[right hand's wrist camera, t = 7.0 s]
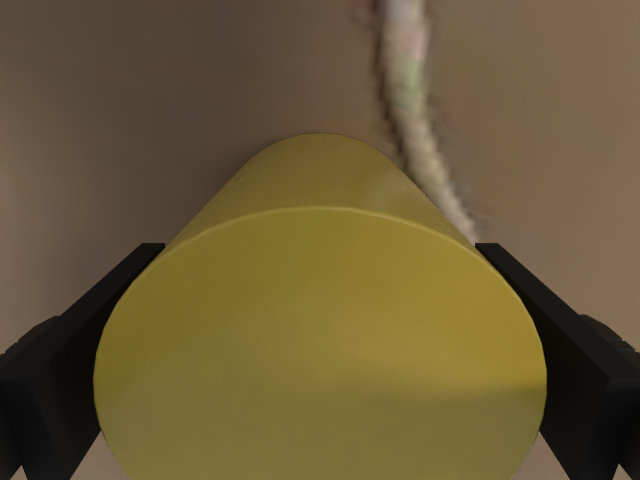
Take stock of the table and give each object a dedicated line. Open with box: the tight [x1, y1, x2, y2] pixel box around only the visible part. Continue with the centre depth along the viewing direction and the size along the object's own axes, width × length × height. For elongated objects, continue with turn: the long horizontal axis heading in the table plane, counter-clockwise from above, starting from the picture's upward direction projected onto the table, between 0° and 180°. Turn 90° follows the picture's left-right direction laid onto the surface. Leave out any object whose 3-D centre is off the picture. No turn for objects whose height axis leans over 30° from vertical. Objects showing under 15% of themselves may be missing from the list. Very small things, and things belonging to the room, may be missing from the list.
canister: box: [93, 133, 547, 480], centre depth 13 cm, size 9×9×10 cm
